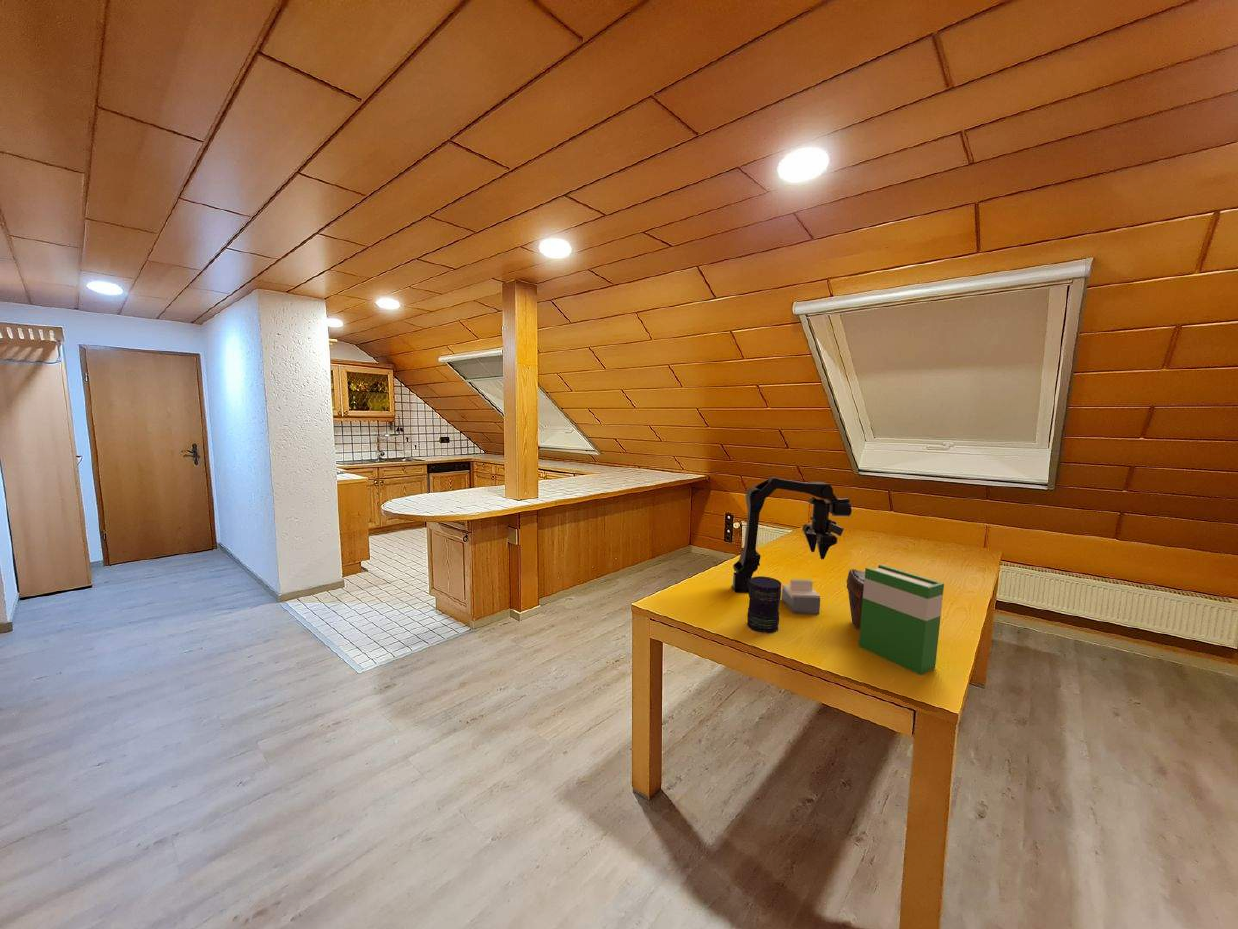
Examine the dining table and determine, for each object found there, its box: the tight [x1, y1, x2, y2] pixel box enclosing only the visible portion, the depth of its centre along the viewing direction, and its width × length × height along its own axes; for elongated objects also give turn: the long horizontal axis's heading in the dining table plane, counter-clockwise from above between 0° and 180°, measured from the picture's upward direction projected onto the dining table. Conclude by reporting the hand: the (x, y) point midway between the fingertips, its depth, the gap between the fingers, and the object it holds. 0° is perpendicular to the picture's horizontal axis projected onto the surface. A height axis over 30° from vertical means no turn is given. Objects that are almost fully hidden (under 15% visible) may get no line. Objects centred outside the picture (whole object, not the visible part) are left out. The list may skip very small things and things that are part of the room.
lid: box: [782, 578, 821, 598], centre depth 171 cm, size 10×10×5 cm
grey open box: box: [781, 585, 821, 615], centre depth 172 cm, size 9×12×6 cm
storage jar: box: [746, 575, 782, 634], centre depth 154 cm, size 10×10×15 cm
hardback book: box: [858, 564, 945, 676], centre depth 137 cm, size 18×7×24 cm, turn 30°
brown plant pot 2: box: [846, 568, 865, 630], centre depth 156 cm, size 18×20×18 cm
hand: (817, 555), depth 185 cm, fingers open, 9 cm apart
